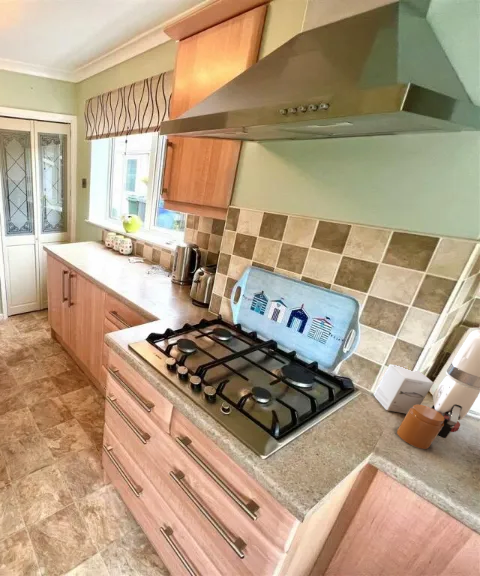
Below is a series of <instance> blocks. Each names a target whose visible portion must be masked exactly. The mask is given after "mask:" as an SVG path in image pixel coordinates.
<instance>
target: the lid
mask: <svg viewBox="0 0 480 576" xmlns="http://www.w3.org/2000/svg"><path fill="white" fill-rule="evenodd" d="M431 408H432V407H431ZM432 409H434V408H432ZM434 410H435V409H434ZM439 413H440V414H441V412H439ZM444 418H445V419H448V418H449V417H448V416H446V415H445V416H444ZM460 428H461V423H460V421H459V420H458V421H457V424H455V426H454V427H453V428H452V430H451V431H450V433H456V432H458V431H459V429H460Z"/></svg>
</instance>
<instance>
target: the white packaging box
mask: <svg viewBox="0 0 480 576" xmlns="http://www.w3.org/2000/svg"><path fill="white" fill-rule="evenodd" d="M400 366H401V365H398V366H397V365H396V364H391V363H389V364H388V366H387V368H386V370H385V372H384V374H383V375H382V377H381V380H380V381H379V383H378V385H377V387H376V389H375V391H374V393H373V396H374V398H375V399H376V400H377V401H378V402H379V404H380V405H381V406H382V407H383V409H385V410H386V411H389V412H396V413H400V414H405V415H406V414H407V413H408V411H409V409H410V408H413V405H417V404H419V405H422V403H423V401H424V400H425V398H426V396H427V395H428V393H429V392H430V390H431V388H432V387H433V384H434V381H432V380H431V379H430V378H429V377H428V376H426V375H425V374H424V373H422V371H420V370H419V369H418V371H415V372H413V371H411V370H408V369H405V368H403V367H400Z"/></svg>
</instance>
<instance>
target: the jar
mask: <svg viewBox="0 0 480 576" xmlns="http://www.w3.org/2000/svg"><path fill="white" fill-rule="evenodd" d="M444 420H445V418H444V417H443V415H442V414H440V413H439V412H437V411H436V410H434V409H432V407H429V406H427V405H424V404H420V405H419V404H417V405H413V408H410V409H409V411H408V413H407V414H405V416H404V417H403V420H402V421H401V423H400V425H399V426H398V428H397V430H396V434H397V436H398V437H399V438H400V439H401V440H402V441H404V442H406V443H407V444H409V445H411V446H413V447H415V448H417V449H421V450H429V449H430V447H431V446H432V444H433V443H434V442H435V440H436V438H437V437H438V436H437V435H438V433H439V432H440V430H441V429H442V427H443V426H444Z"/></svg>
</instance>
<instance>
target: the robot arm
mask: <svg viewBox="0 0 480 576" xmlns="http://www.w3.org/2000/svg"><path fill="white" fill-rule="evenodd" d="M479 394H480V329H474V330H472V331H470V333H469V334H468V336H467V337H466V338H465V340H464V342H463V344H462V345H461V347H460V348H459V350H458V352H457V354H456V355H455V356H454V358H453V360H452V362H450V364H449V366H448V368H447V369H446V371H445V376H444V378H443V380H442V381H441V382H440V383H439V385H438V386H437V388H436V389H435V390H434V391H433V394H432V402H433V404H432V406H431V408H434V409H435V410H436V411H437V412H441V414H442V415H443V417H444V416H445V415H446V416H448V417H449V418H448V419H445V420H444V426H443V427H442V429H441V430H440V432H439V433H438V435H437V436H436V437H440V438H443V439H446V438H447V437H448V436H449V435H450V433H451V432H450V431H451V430H452V428H453V427H454V426H455V424H457V421H458V422H459V421H461V420H463V419H464V418H465V417H466V416H467V414H468V413H469V412H470V410H471V408H472V407H473V406H474V404H475V402H476V400H477V398H478V396H479Z"/></svg>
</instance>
